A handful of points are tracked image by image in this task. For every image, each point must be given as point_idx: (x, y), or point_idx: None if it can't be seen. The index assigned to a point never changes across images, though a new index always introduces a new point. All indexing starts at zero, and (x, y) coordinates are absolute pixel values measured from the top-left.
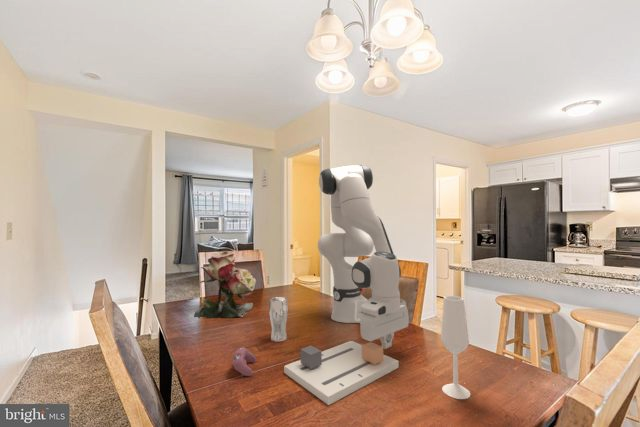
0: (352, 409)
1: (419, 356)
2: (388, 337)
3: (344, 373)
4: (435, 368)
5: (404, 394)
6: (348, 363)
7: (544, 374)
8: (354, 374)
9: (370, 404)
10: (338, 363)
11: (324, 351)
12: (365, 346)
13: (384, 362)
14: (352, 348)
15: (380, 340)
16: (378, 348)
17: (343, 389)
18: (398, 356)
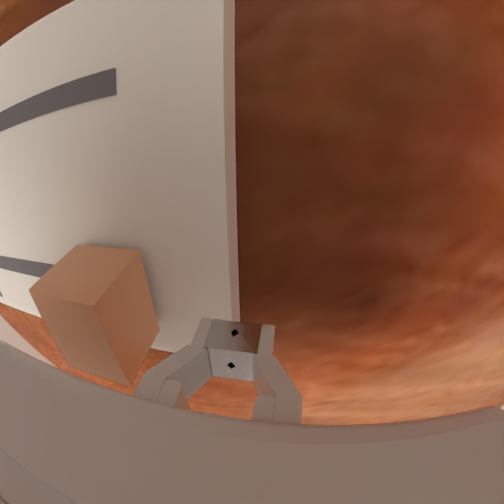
0: (23, 323)
1: (409, 345)
2: (263, 386)
3: (6, 261)
4: (339, 403)
5: (137, 385)
6: (28, 218)
7: None
8: (28, 286)
9: (53, 343)
10: (2, 192)
11: (6, 48)
12: (42, 315)
13: (164, 328)
14: (115, 80)
15: (173, 354)
16: (96, 374)
17: (1, 301)
18: (351, 289)
